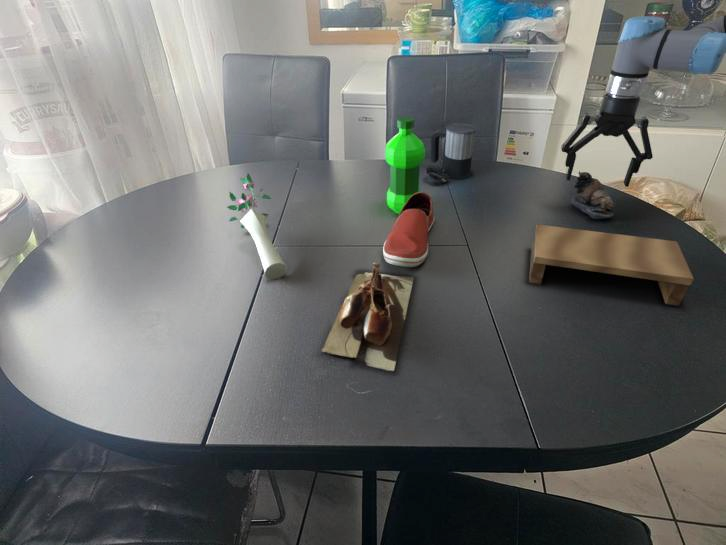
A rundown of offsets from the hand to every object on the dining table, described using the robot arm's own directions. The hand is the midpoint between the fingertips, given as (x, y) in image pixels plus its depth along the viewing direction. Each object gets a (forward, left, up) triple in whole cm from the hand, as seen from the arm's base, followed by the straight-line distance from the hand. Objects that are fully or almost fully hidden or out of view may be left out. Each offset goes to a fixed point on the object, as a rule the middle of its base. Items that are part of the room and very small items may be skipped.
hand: (596, 181), depth 114 cm
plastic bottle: (+48, +11, -9) cm, 50 cm away
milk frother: (+40, -15, -9) cm, 44 cm away
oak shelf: (0, +30, -9) cm, 31 cm away
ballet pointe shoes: (+43, +56, -9) cm, 71 cm away
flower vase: (+78, +38, -9) cm, 87 cm away
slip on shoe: (+42, +28, -9) cm, 51 cm away
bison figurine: (0, 0, -9) cm, 9 cm away
